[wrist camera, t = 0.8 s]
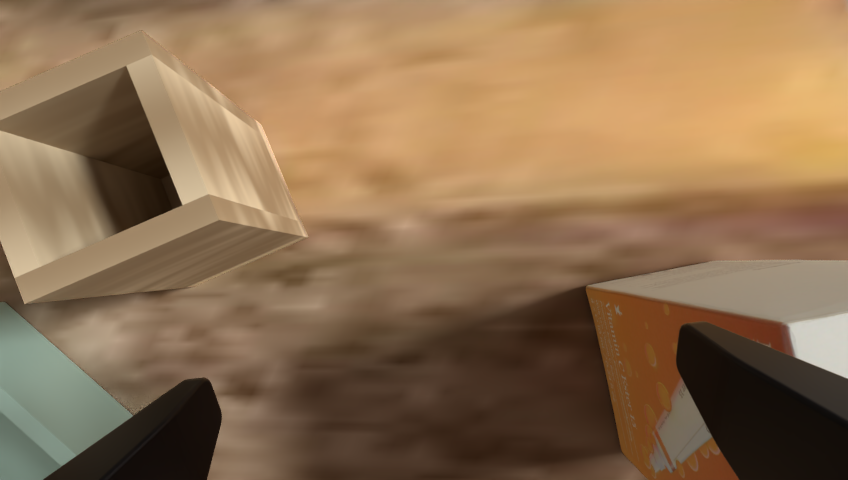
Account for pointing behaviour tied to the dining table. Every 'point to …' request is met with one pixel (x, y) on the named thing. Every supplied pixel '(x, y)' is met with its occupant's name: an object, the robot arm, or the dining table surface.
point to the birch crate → (133, 178)
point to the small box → (719, 305)
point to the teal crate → (45, 403)
